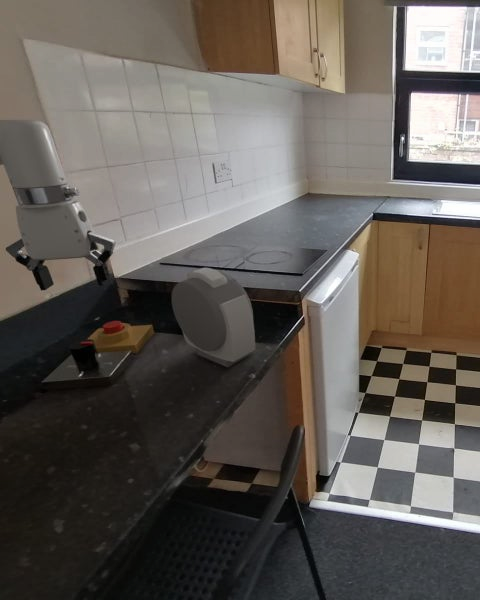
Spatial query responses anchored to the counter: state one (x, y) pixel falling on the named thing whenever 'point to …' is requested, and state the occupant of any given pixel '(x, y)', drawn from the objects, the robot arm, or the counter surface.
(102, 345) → the knob block
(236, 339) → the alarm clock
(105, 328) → the press knob
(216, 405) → the counter surface
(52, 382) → the dial plate
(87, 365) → the dial
